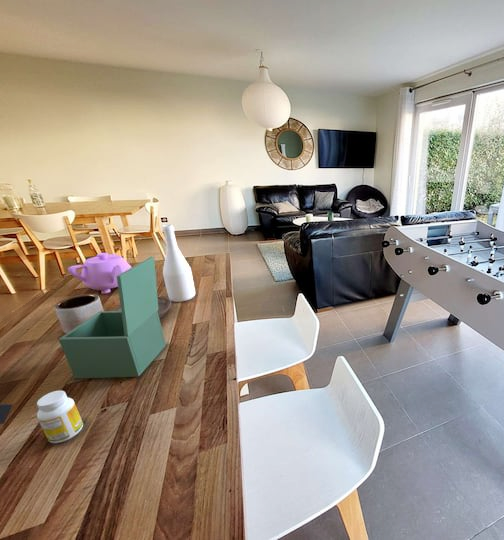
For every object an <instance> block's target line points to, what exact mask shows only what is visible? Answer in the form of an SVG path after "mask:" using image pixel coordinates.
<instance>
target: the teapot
mask: <svg viewBox="0 0 504 540" xmlns="http://www.w3.org/2000/svg"><path fill="white" fill-rule="evenodd" d="M132 267H133V266H132V265H130V264H129V263H128V261H126V259H124V257H123V256H121V255H119V254H116V253H111V254H109V253H108V252H100V253H97V254H96V256H93V257H89V258H87V259H85V261H84V262H83V264H77V265H71V266H69V267H68V268H67V271H68V273H69V274H70V275H71V276H73V277H75V278H76V279H78V280H81V281H82V283H83V285H84V286H86V287H87V288H89V289H91V290H94V291H100V293H101V294H108V293H111V289H115V288H118V283H117V276H118V275H119V274H121V273H123V272H125V271H126V270H128V269H130V268H132ZM78 269H81V273H80V274H79V272H78V271H77V270H78Z"/></svg>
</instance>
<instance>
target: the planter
mask: <svg viewBox="0 0 504 540" xmlns="http://www.w3.org/2000/svg"><path fill="white" fill-rule="evenodd" d="M53 309H54V311H55V314H56V316H57V318H58V321H59V323H60V326H61V329H62V331H63V333H64V334H65V335H66V334H67V333H69V332H70V331H71V330H73V329H74V328H76V327H77V326H79V325H80V324H82V323H83V322H85V321H86V320H88V319H89V318H91V317H92V316H94V315H95V314H97V313H98V312H100V311H105V309H104V306H103V304H102V301H101V297H100V296H99V295H98V294H95V293H94V294H93V293H86V294H78V295H73V296H70V297H67V298H64V299H61V300H59V301H58V302H56V303H55V304H54V305H53Z"/></svg>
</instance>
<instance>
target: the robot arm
mask: <svg viewBox="0 0 504 540" xmlns="http://www.w3.org/2000/svg"><path fill="white" fill-rule="evenodd" d="M13 406H14V404H13V403H1V404H0V425H3V424H5V422H6V420H7V418H8V416H9V413H10V412H11V410H12V408H13Z"/></svg>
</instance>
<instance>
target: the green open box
mask: <svg viewBox="0 0 504 540" xmlns="http://www.w3.org/2000/svg"><path fill="white" fill-rule="evenodd" d="M58 342H59V344H60V346H61V348H62V351H63V353H64V356H65V358H66V360H67V364H68V366H69V368H70V370H71V373H72V375H73V377H74V379H106V378H107V379H110V378H136V377H137V378H138V377H140V376H142V374H143V372H144V371H145V370H146V369H147V368H148V367H149V366H150V364H151V363H152V362H153V361H154V360H155V359H156V358H157V357H158V355H159V354H160V353H162V350H164V348H166V346H167V343H166V339H165V335H164V331H163V327H162V323H161V320H160V318H159V315H158V311H156V312H155V313H154V314H153V315H152V316H151V317H149V318H148V319H147V320H146V321H145V322H144V323H143V324H142V325H141V326H139V327H138V328H137V329H136V330H135V331H134V332H133V333H132V334H130V335H129V336H128V337H127V336H125V335H124V327H123V320H122V312H121V311H113V310H104V311H100V312H98V313H97V314H95V315H94V316H92V317H91V318H89V319H88V320H86V321H85V322H83V323H82V324H80V325H79V326H77V327H76V328H74V329H73V330H71V331H70V332H69V333H67V334H66V333H65V334H64V335H62V336H61V337H60V338H58Z"/></svg>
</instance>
